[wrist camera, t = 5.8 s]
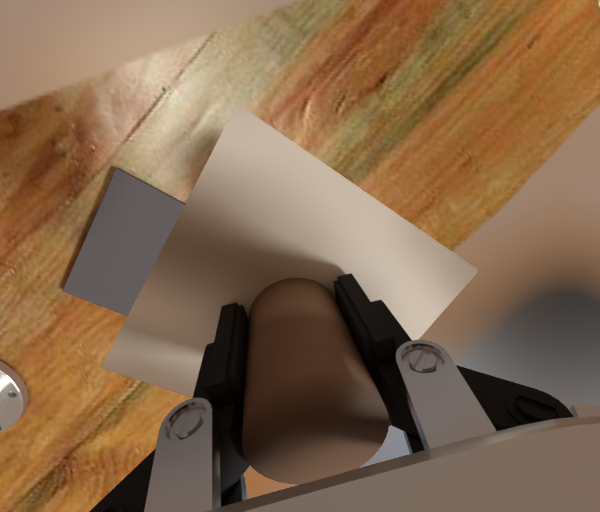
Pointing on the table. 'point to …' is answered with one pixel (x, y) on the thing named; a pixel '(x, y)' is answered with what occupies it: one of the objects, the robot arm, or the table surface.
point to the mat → (123, 243)
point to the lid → (284, 298)
